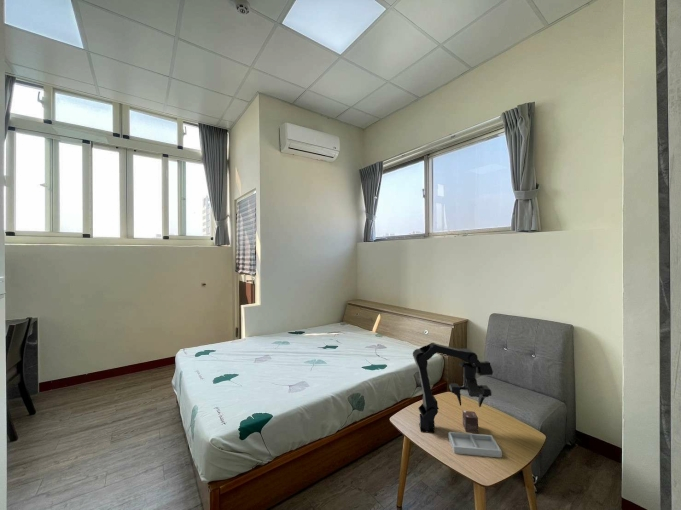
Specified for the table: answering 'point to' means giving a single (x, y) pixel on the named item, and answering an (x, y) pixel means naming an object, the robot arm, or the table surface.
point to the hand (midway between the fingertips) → (469, 406)
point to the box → (470, 421)
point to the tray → (474, 444)
